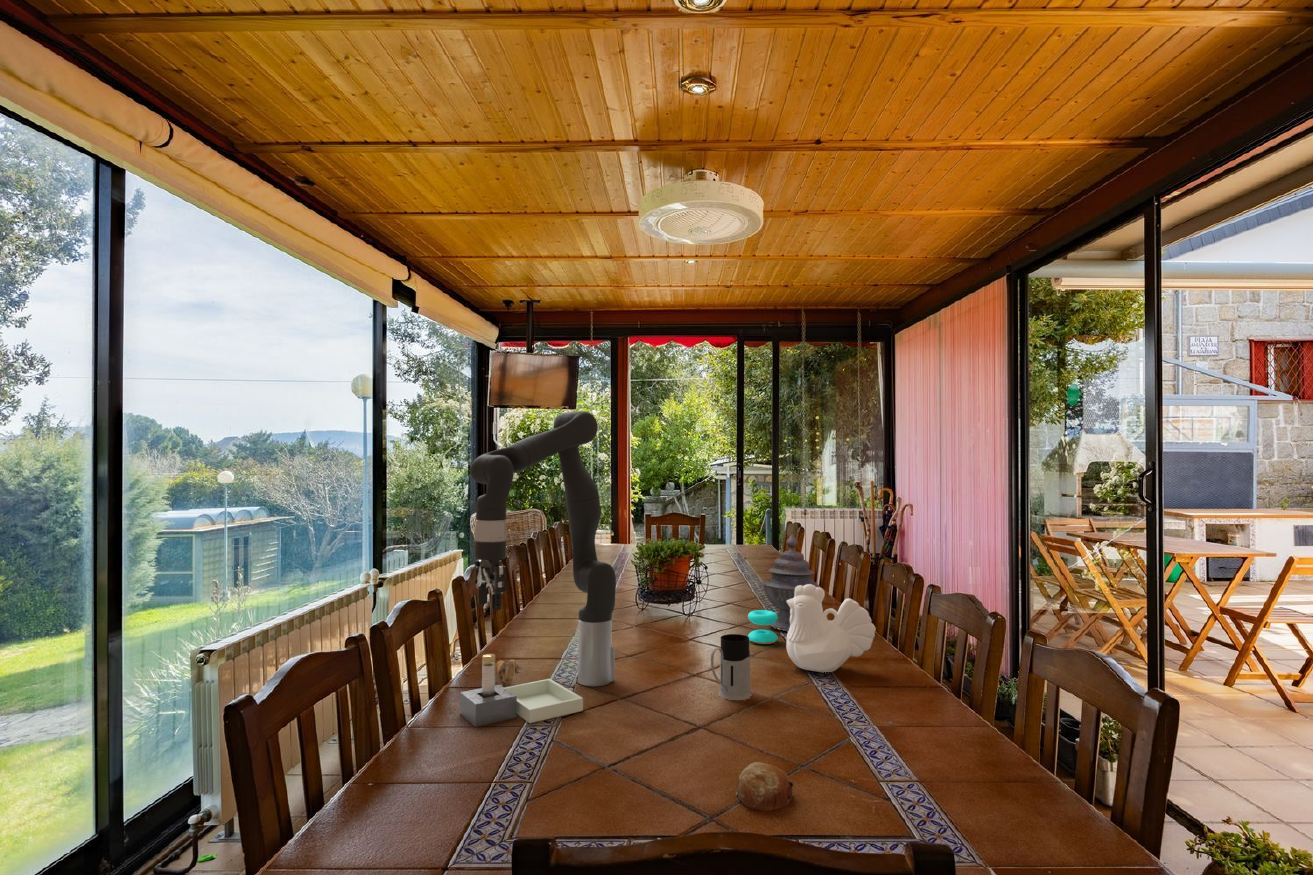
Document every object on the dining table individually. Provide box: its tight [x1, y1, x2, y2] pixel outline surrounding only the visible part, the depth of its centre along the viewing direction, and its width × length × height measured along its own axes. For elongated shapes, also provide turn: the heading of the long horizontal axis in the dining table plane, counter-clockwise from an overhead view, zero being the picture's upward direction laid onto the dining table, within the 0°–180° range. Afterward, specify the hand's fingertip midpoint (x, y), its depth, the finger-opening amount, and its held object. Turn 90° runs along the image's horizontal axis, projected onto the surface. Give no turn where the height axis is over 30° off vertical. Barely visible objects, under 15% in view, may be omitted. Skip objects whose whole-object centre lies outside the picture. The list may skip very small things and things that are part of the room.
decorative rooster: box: [785, 584, 876, 674], centre depth 204 cm, size 25×16×25 cm, turn 65°
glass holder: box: [710, 633, 753, 701], centre depth 181 cm, size 9×14×15 cm, turn 137°
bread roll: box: [735, 761, 794, 812], centre depth 128 cm, size 10×10×8 cm
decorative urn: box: [762, 533, 820, 630], centre depth 256 cm, size 20×20×35 cm
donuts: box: [747, 609, 779, 643], centre depth 236 cm, size 10×10×10 cm
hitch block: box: [459, 684, 518, 728], centre depth 165 cm, size 10×10×6 cm
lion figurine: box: [495, 659, 523, 687], centre depth 187 cm, size 15×5×9 cm, turn 34°
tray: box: [504, 678, 584, 724], centre depth 172 cm, size 14×18×4 cm
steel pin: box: [481, 653, 496, 698], centre depth 165 cm, size 3×3×14 cm
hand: (489, 607), depth 166 cm, fingers open, 8 cm apart
